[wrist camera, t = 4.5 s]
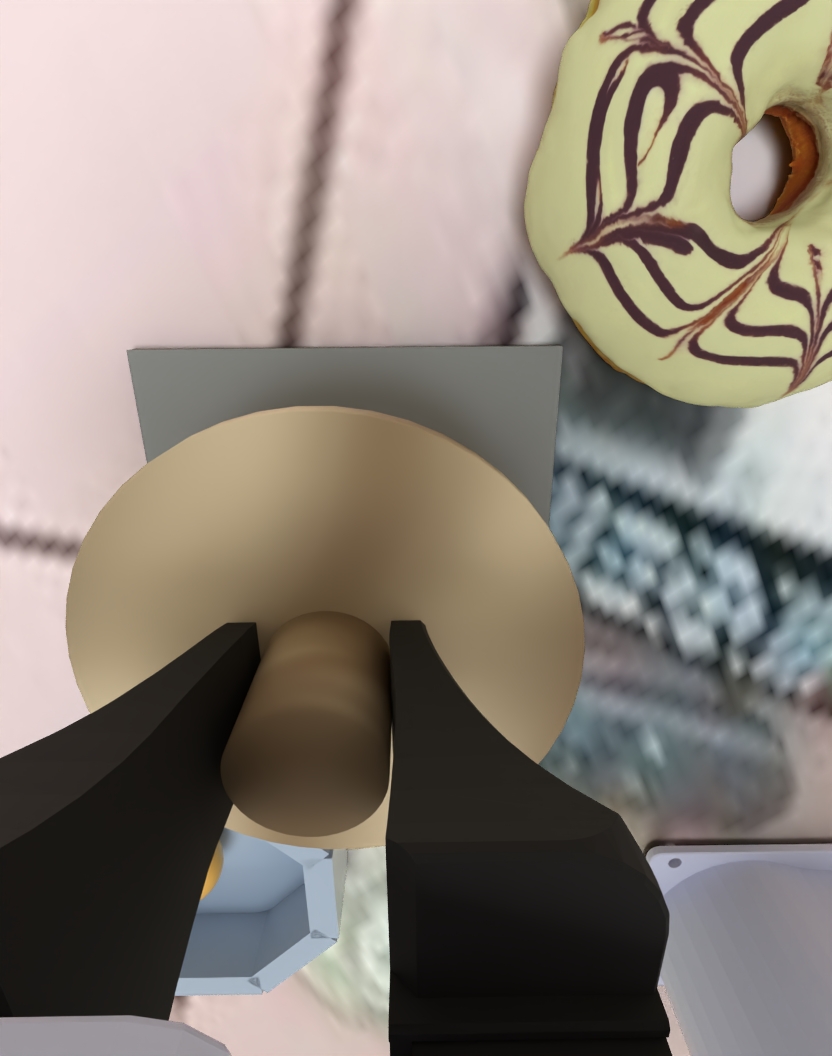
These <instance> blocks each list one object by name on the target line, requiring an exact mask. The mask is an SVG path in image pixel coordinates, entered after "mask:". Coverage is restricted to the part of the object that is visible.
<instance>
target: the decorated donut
mask: <svg viewBox="0 0 832 1056" xmlns="http://www.w3.org/2000/svg"><path fill="white" fill-rule="evenodd" d="M763 114H769V115H773V116H776V117H777V116H778V117H779V118H780V119H781V122H782V126H783V127H784V130H785V132H786V135H787V136H788V137H789V140H790V143H791V148H792V155H793V161H792V162H791V163H790V164H789V165H790V166H789V167H793V168H792V175H787V176H788V177H789V180H788V181H787V183H786V185H785V188H784V191H783V193H782V194H781V196H780V197H779V198H778V199H777V203H776V204H775V207H774V209H773V210H772V211H771V213H770V214H769V215H767V216H766V217H765V218H762V219H759V220H758V221H753V222H751V221H746V220H744V219H742V218H740V217H739V216H738V214H737V213H736V212H735V210H734V208H733V206H732V203H731V197H730V184H731V174H732V150H733V147H734V146H735V145H736V144H737V143H738V142H739V141H740V140H741V139H742V138H743V137H745V136H746V135H747V133H748V132H749V131H751V130H752V129H753V128H754V127H755V125H756V124H757V123H758V122H759V121H760V119H761V118H762V116H763ZM524 214H525V225H526V230H527V234H528V238H529V242H530V245H531V248H532V250H533V253H534V255H535V257H536V259H537V261H538V264H539V266H540V267H541V268H542V270H543V271H544V272H545V274H546V275H547V276H548V277H549V278H550V280H551V282H552V284H553V286H554V288H555V290H556V292H557V294H558V297H559V299H560V301H561V303H562V304H563V306H564V308H565V309H566V311H567V312H568V313H569V315H570V316H571V318H572V319H573V321H574V324H575V325H576V327H577V328H578V330H579V331H580V333H581V334H582V335H583V336H584V338H585V339H586V340H587V341H588V343H589V344H590V345H591V346H592V347H593V349H594V350H595V351H596V352H597V353H598V354H599V355H600V356H601V357H602V358H603V360H604V361H605V362H607V363H608V364H609V365H611V366H612V368H614V369H615V370H616V371H618V372H622V373H626V374H627V375H628V376H629V377H631V378H633V379H634V380H636V381H638V382H641V383H644V384H647V385H648V386H650V387H651V388H653V389H654V390H656V391H657V392H659V393H661V394H663V395H665V396H668V397H671V398H673V399H676V400H680V401H683V402H686V403H690V404H697V405H703V406H723V407H741V408H753V407H758V406H761V405H764V404H767V403H770V402H774V401H777V400H780V399H782V398H785V397H787V396H790V395H793V394H796V393H799V392H803V391H806V390H809V389H812V388H815V387H817V386H820V385H822V384H824V383H827V382H829V381H831V380H832V0H591V1H590V4H589V7H588V11H587V14H586V18H585V19H584V20H583V22H582V23H581V25H580V27H579V29H578V30H577V31H576V32H575V33H574V34H573V35H572V36H571V37H570V38H569V40H568V42H567V44H566V46H565V47H564V49H563V53H562V58H561V62H560V66H559V72H558V82H557V84H556V87H555V90H554V94H553V102H552V109H551V113H550V115H549V118H548V120H547V123H546V125H545V128H544V131H543V134H542V138H541V142H540V145H539V148H538V150H537V152H536V155H535V157H534V160H533V162H532V165H531V168H530V171H529V176H528V185H527V191H526V196H525V201H524Z"/></svg>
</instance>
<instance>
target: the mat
mask: <svg viewBox="0 0 832 1056" xmlns="http://www.w3.org/2000/svg"><path fill="white" fill-rule="evenodd" d="M562 353H563V346H560V345H538V346H433V347H328V348H223V349H132V350H127V355H128V361H129V366H130V372H131V377H132V383H133V388H134V394H135V399H136V405H137V410H138V416H139V421H140V427H141V432H142V438H143V443H144V449H145V454H146V460H147V463H149V462H150V461H152V460H153V459H155V458H156V457H158V456H160V455H161V454H163V453H164V452H166V451H167V450H169V449H171V448H172V447H174V446H175V445H177V444H179V443H180V442H182V441H183V440H185V439H186V438H188V437H190V436H192V435H194V434H196V433H198V432H201V431H203V430H205V429H207V428H210V427H212V426H214V425H216V424H219V423H221V422H223V421H227V420H230V419H234V418H237V417H241V416H244V415H248V414H251V413H255V412H259V411H266V410H273V409H280V408H287V407H294V406H338V407H346V408H354V409H363V410H371V411H375V412H379V413H383V414H387V415H391V416H394V417H398V418H402V419H406V420H409V421H412V422H414V423H417V424H419V425H422V426H424V427H427V428H429V429H432V430H434V431H437V432H439V433H442V434H444V435H446V436H447V437H449V438H451V439H453V440H454V441H456V442H458V443H460V444H461V445H463V446H465V447H467V448H468V449H470V450H472V451H474V452H475V453H477V454H478V455H479V456H481V457H482V458H483V459H485V460H486V461H487V462H488V463H490V464H491V465H492V466H494V467H495V468H496V469H498V470H499V471H500V472H502V473H503V474H504V475H505V476H506V477H507V478H508V479H509V480H510V481H511V482H512V483H513V484H514V485H515V486H516V487H517V488H518V489H519V490H520V491H521V492H522V493H523V494H524V495H525V496H526V497H527V499H528V500H529V501H530V503H531V504H532V505H533V507H534V508H535V509H536V511H537V512H538V513H539V515H540V516H541V517H542V519H543V520H544V522H545V523H546V524H547V526H548V528H549V516H550V504H551V491H552V478H553V466H554V453H555V441H556V428H557V415H558V403H559V390H560V378H561V365H562Z"/></svg>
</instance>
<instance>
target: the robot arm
mask: <svg viewBox="0 0 832 1056" xmlns="http://www.w3.org/2000/svg"><path fill="white" fill-rule="evenodd" d="M389 645H390V679H391V703H392V746H393V766H392V778H391V790H390V800H389V809H388V819H387V828H386V836H385V841H386V868H387V894H388V921H389V947H390V995H389V1042H390V1056H672V1054H671V1051H670V1048H669V1045H668V1042H667V1039H666V1037H669V1033H670V1026H669V1020H668V1017H667V1014H666V1011H665V1009H664V1006H663V1003H662V1000H661V998H660V995H659V992H658V989H657V986H658V985H664V986H665V988H666V991H667V994H668V996H669V999H670V1002H671V1004H672V1007H673V1010H674V1012H675V1015H676V1018H677V1020H678V1023H679V1025H680V1028H681V1031H682V1033H683V1036H684V1039H685V1041H686V1044H687V1047H688V1049H689V1052H690V1055H691V1056H832V844H768V845H694V846H656V847H654V848H651V849H650V850H649V851H648V853H647V855H646V858H645V856H644V854H643V853H642V851H641V849H640V848H639V846H638V844H637V842H636V841H635V839H634V837H633V836H632V834H631V833H630V831H629V829H628V828H627V826H626V824H625V823H624V821H623V819H622V818H621V816H620V815H619V814H618V813H616V812H614V811H612V810H611V809H609V808H607V807H605V806H604V805H602V804H600V803H598V802H597V801H595V800H593V799H591V798H590V797H588V796H586V795H584V794H582V793H581V792H579V791H577V790H575V789H574V788H572V787H570V786H569V785H567V784H566V783H564V782H563V781H561V780H560V779H558V778H557V777H555V776H554V775H552V774H551V773H549V772H548V771H546V770H545V769H544V768H542V767H541V766H539V765H538V764H537V763H535V762H534V761H533V760H531V759H530V758H529V757H528V756H527V755H525V754H524V753H523V752H522V751H520V750H519V749H518V748H517V747H516V746H514V745H513V744H512V743H511V742H510V741H508V740H507V739H506V738H505V737H504V736H503V735H502V734H501V733H500V732H499V731H498V730H497V729H496V728H495V727H494V726H493V725H492V724H491V723H490V722H489V721H488V720H487V719H486V718H485V717H484V716H483V715H482V713H481V712H480V711H479V710H478V709H477V708H476V707H475V705H474V704H473V703H472V702H471V701H470V699H469V698H468V697H467V696H466V694H465V693H464V692H463V690H462V689H461V688H460V686H459V685H458V684H457V682H456V681H455V679H454V678H453V677H452V675H451V674H450V672H449V670H448V669H447V667H446V666H445V664H444V663H443V661H442V660H441V658H440V656H439V654H438V653H437V651H436V649H435V647H434V645H433V643H432V641H431V639H430V637H429V634H428V632H427V629H426V625H425V624H424V623H423V622H422V621H421V620H398V621H391V625H390V633H389ZM260 661H261V657H260V649H259V641H258V633H257V625H256V622H236V623H226V624H224V625H222V626H221V627H219V628H218V629H216V630H215V631H213V632H212V633H210V634H209V635H208V636H206V637H205V638H204V639H202V640H201V641H199V642H198V643H197V644H195V645H194V646H193V647H191V648H190V649H188V650H187V651H186V652H184V653H183V654H182V655H180V656H179V657H177V658H176V659H175V660H173V661H172V662H170V663H169V664H168V665H166V666H165V667H163V668H162V669H161V670H159V671H158V672H156V673H155V674H153V675H152V676H150V677H149V678H147V679H146V680H144V681H142V682H141V683H139V684H138V685H136V686H135V687H133V688H132V689H130V690H129V691H127V692H126V693H124V694H123V695H121V696H120V697H118V698H116V699H115V700H113V701H112V702H110V703H108V704H107V705H105V706H103V707H101V708H100V709H98V710H96V711H95V712H93V713H91V714H89V715H87V716H86V717H84V718H82V719H80V720H78V721H76V722H74V723H73V724H71V725H69V726H67V727H65V728H63V729H61V730H59V731H57V732H55V733H54V734H51V735H49V736H47V737H45V738H43V739H41V740H39V741H36V742H34V743H32V744H30V745H28V746H26V747H24V748H21V749H19V750H17V751H15V752H13V753H11V754H9V755H6V756H4V757H2V758H0V1056H232V1055H231V1054H230V1052H229V1050H228V1049H227V1047H226V1046H225V1045H224V1044H222V1043H221V1042H219V1041H217V1040H215V1039H213V1038H211V1037H209V1036H207V1035H205V1034H203V1033H201V1032H200V1031H198V1030H196V1029H194V1028H192V1027H190V1026H188V1025H186V1024H184V1023H180V1022H173V1021H169V1016H170V1012H171V1008H172V1004H173V1000H174V996H175V992H176V987H177V984H178V980H179V976H180V972H181V968H182V965H183V961H184V957H185V953H186V949H187V946H188V942H189V938H190V934H191V930H192V927H193V923H194V919H195V916H196V912H197V909H198V905H199V902H200V898H201V895H202V891H203V888H204V884H205V881H206V877H207V873H208V870H209V867H210V864H211V862H212V859H213V856H214V853H215V850H216V847H217V844H218V842H219V839H220V837H221V834H222V832H223V829H224V827H225V824H226V822H227V819H228V817H229V814H230V812H231V809H232V806H233V802H232V801H231V800H230V798H229V797H228V795H227V793H226V791H225V789H224V786H223V783H222V779H221V759H222V755H223V752H224V750H225V747H226V745H227V742H228V740H229V737H230V735H231V732H232V730H233V727H234V725H235V723H236V720H237V718H238V715H239V713H240V710H241V708H242V705H243V703H244V700H245V698H246V696H247V693H248V691H249V688H250V686H251V683H252V681H253V678H254V676H255V674H256V671H257V669H258V666H259V664H260Z"/></svg>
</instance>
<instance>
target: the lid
mask: <svg viewBox="0 0 832 1056" xmlns="http://www.w3.org/2000/svg"><path fill="white" fill-rule="evenodd" d="M398 620H421V621H422V622H423V623H424V624H425V625H426V629H427V632H428V634H429V637H430V639H431V641H432V643H433V645H434V647H435V649H436V651H437V653H438V654H439V656H440V658H441V660H442V661H443V663H444V664H445V666H446V667H447V669H448V670H449V672H450V674H451V675H452V677H453V678H454V679H455V681H456V682H457V684H458V685H459V686H460V688H461V689H462V690H463V692H464V693H465V694H466V696H467V697H468V698H469V699H470V701H471V702H472V703H473V704H474V705H475V707H476V708H477V709H478V710H479V711H480V712H481V713H482V715H483V716H484V717H485V718H486V719H487V720H488V721H489V722H490V723H491V724H492V725H493V726H494V727H495V728H496V729H497V730H498V731H499V732H500V733H501V734H502V735H503V736H504V737H505V738H506V739H507V740H508V741H510V742H511V743H512V744H513V745H514V746H516V747H517V748H518V749H519V750H520V751H522V752H523V753H524V754H525V755H527V756H528V757H529V758H530V759H531V760H533V761H534V762H535V763H537V764H539V763H540V761H541V760H542V759H543V758H544V757H545V755H546V754H547V753H548V752H549V750H550V749H551V747H552V745H553V744H554V742H555V741H556V739H557V737H558V736H559V734H560V733H561V731H562V730H563V727H564V725H565V723H566V721H567V719H568V716H569V714H570V712H571V710H572V707H573V705H574V702H575V699H576V695H577V691H578V688H579V684H580V681H581V676H582V668H583V660H584V652H585V642H584V620H583V614H582V609H581V604H580V598H579V593H578V590H577V587H576V584H575V581H574V579H573V576H572V573H571V570H570V567H569V564H568V562H567V560H566V558H565V557H564V555H563V553H562V551H561V549H560V547H559V545H558V544H557V542H556V540H555V538H554V536H553V534H552V533H551V531H550V529H549V528H548V526H547V524H546V523H545V522H544V520H543V519H542V517H541V516H540V515H539V513H538V512H537V511H536V509H535V508H534V507H533V505H532V504H531V503H530V501H529V500H528V499H527V497H526V496H525V495H524V494H523V493H522V492H521V491H520V490H519V489H518V488H517V487H516V486H515V485H514V484H513V483H512V482H511V481H510V480H509V479H508V478H507V477H506V476H505V475H504V474H503V473H502V472H500V471H499V470H498V469H496V468H495V467H494V466H492V465H491V464H490V463H488V462H487V461H486V460H485V459H483V458H482V457H481V456H479V455H478V454H477V453H475V452H474V451H472V450H470V449H468V448H467V447H465V446H463V445H461V444H460V443H458V442H456V441H454V440H453V439H451V438H449V437H447V436H446V435H444V434H442V433H439V432H437V431H434V430H432V429H429V428H427V427H424V426H422V425H419V424H417V423H414V422H412V421H409V420H406V419H402V418H398V417H394V416H391V415H387V414H383V413H379V412H375V411H371V410H363V409H354V408H346V407H338V406H294V407H287V408H280V409H273V410H266V411H259V412H255V413H251V414H248V415H244V416H241V417H237V418H234V419H230V420H227V421H223V422H221V423H219V424H216V425H214V426H212V427H210V428H207V429H205V430H203V431H201V432H198V433H196V434H194V435H192V436H190V437H188V438H186V439H185V440H183V441H182V442H180V443H179V444H177V445H175V446H174V447H172V448H171V449H169V450H167V451H166V452H164V453H163V454H161V455H160V456H158V457H156V458H155V459H153V460H152V461H150V462H149V463H147V464H146V465H145V466H144V467H143V468H141V469H140V470H139V471H138V472H137V473H136V474H135V475H133V476H132V477H131V478H130V479H129V480H128V481H127V482H125V483H124V484H123V485H122V486H121V487H120V488H119V489H118V491H117V492H116V493H115V494H114V495H113V497H112V498H111V499H110V500H109V501H108V503H107V504H106V505H105V506H104V507H103V509H102V510H101V511H100V513H99V514H98V516H97V518H96V519H95V521H94V523H93V524H92V526H91V528H90V530H89V531H88V533H87V535H86V536H85V538H84V540H83V543H82V545H81V548H80V550H79V553H78V556H77V558H76V561H75V563H74V566H73V569H72V574H71V579H70V584H69V589H68V594H67V603H66V635H67V643H68V651H69V658H70V661H71V665H72V668H73V672H74V675H75V679H76V682H77V685H78V688H79V690H80V692H81V694H82V697H83V699H84V701H85V703H86V706H87V708H88V710H89V712H90V714H91V713H93V712H95V711H96V710H98V709H100V708H101V707H103V706H105V705H107V704H108V703H110V702H112V701H113V700H115V699H116V698H118V697H120V696H121V695H123V694H124V693H126V692H127V691H129V690H130V689H132V688H133V687H135V686H136V685H138V684H139V683H141V682H142V681H144V680H146V679H147V678H149V677H150V676H152V675H153V674H155V673H156V672H158V671H159V670H161V669H162V668H163V667H165V666H166V665H168V664H169V663H170V662H172V661H173V660H175V659H176V658H177V657H179V656H180V655H182V654H183V653H184V652H186V651H187V650H188V649H190V648H191V647H193V646H194V645H195V644H197V643H198V642H199V641H201V640H202V639H204V638H205V637H206V636H208V635H209V634H210V633H212V632H213V631H215V630H216V629H218V628H219V627H221V626H222V625H224V624H226V623H236V622H256V625H257V633H258V641H259V649H260V657H261V661H260V664H259V666H258V669H257V671H256V674H255V676H254V678H253V681H252V683H251V686H250V688H249V691H248V693H247V696H246V698H245V700H244V703H243V705H242V708H241V710H240V713H239V715H238V718H237V720H236V723H235V725H234V727H233V730H232V732H231V735H230V737H229V740H228V742H227V745H226V747H225V750H224V752H223V755H222V759H221V779H222V783H223V786H224V789H225V791H226V793H227V795H228V797H229V798H230V800H231V801H232V802H233V806H232V809H231V812H230V814H229V817H228V819H227V822H226V824H225V828H227V829H230V830H233V831H235V832H238V833H241V834H243V835H247V836H251V837H254V838H258V839H262V840H266V841H269V842H274V843H279V844H285V845H291V846H297V847H306V848H319V849H361V848H370V847H379V846H386V841H385V836H386V828H387V819H388V809H389V800H390V790H391V778H392V766H393V746H392V703H391V679H390V645H389V633H390V625H391V621H398Z"/></svg>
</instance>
